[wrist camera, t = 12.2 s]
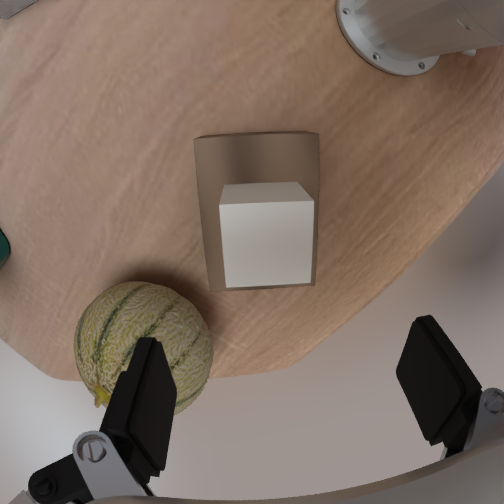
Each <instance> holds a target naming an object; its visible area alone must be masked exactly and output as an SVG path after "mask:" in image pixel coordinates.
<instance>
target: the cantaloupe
mask: <svg viewBox="0 0 504 504" xmlns="http://www.w3.org/2000/svg"><path fill="white" fill-rule="evenodd" d="M140 337H155V338H156V339H157V341H161V343H162V345H163V349H164V352H165V355H166V358H167V361H168V364H169V367H170V370H171V373H172V376H173V379H174V382H175V385H176V388H177V399H176V405H175V411H174V415H176V414H178V413H180V412H182V411H183V410H184V409H186V408H187V407H188V406H189V405H190V404H192V403H193V402H194V400H196V398H197V397H198V396H199V395H200V393H201V392H202V390H203V388H204V385H205V384H206V382H207V379H208V377H209V373H210V368H211V365H212V362H213V341H212V337H211V333H210V330H209V328H208V326H207V325H206V323H205V322H204V320H203V318H202V316H201V314H200V313H199V312H198V310H197V309H196V307H195V306H194V305H193V304H192V303H191V302H189V300H187V299H185V298H184V297H182V296H180V295H179V294H178V293H177V292H176V291H174V290H172V289H170V288H167V287H165V286H162V285H156V284H152V283H148V282H123V283H120V284H117V285H115V286H112V287H110V288H109V289H107V290H105V291H103V293H102V294H101V295H99V296H97V297H96V299H95V300H94V301H93V302H92V303H91V304H90V305H89V306H87V308H86V309H85V310H84V312H83V314H82V316H81V318H80V319H79V321H78V325H77V327H76V331H75V337H74V353H75V359H76V364H77V368H78V371H79V374H80V376H81V379H82V381H83V382H84V384H85V385H86V387H87V388H88V390H89V391H90V393H91V394H92V395H93V396H94V397H95V406H96V407H97V408H99V406H100V404H102V405H103V406H105V407H106V408H107V406H108V404H109V401H110V398H111V395H112V392H113V390H114V387H115V384H116V382H117V379H118V376H119V374H120V373H121V372H122V371H126V370H127V368H128V365H129V362H130V360H131V357H132V354H133V352H134V349H135V346H136V344H137V341H138V339H139V338H140Z"/></svg>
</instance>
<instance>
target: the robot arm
mask: <svg viewBox="0 0 504 504" xmlns="http://www.w3.org/2000/svg"><path fill="white" fill-rule="evenodd" d="M343 12H345V13H346V14H344V13H343ZM336 13H337V18H338V22H339V26H340V28H341V30H342V32H343V34H344V36H345V38H346V39H347V41H348V42H349V44H350V45H351V46H352V47H353V48H354V50H355V51H356V52H357V53H358V54H359V55H360V56H361V57H363V58H364V59H365V60H366V61H367V62H369V63H370V64H372V65H373V66H375V67H376V68H378V69H380V70H383V71H385V72H387V73H391V74H394V75H400V76H411V75H417V74H421V73H424V72H426V71H428V70H430V69H431V68H432V67H433V66H434V65H435V64H436V62H437V61H438V59H439V57H440V55H443V54H448V53H454V52H460V53H462V54H465V55H467V56H470V57H473V56H474V55H475V54H476V49H480V48H487V47H496V46H504V0H337V4H336ZM373 56H374V57H375V59H374V58H373ZM396 375H397V378H398V380H399V382H400V385H401V387H402V389H403V391H404V393H405V395H406V397H407V399H408V402H409V404H410V406H411V408H412V411H413V413H414V415H415V417H416V420H417V422H418V424H419V427H420V429H421V431H422V433H423V436H424V438H425V439H426V440H427V441H429V443H430V445H431V446H433V445H435V444H438V443H441V442H442V441H443V443H444V450H443V452H442V455H441V458H440V461H438V462H435V463H433V464H430V465H428V466H425V467H422V468H419V469H416V470H413V471H410V472H407V473H404V474H401V475H398V476H395V477H391V478H388V479H384V480H381V481H377V482H374V483H369V484H365V485H361V486H357V487H352V488H348V489H343V490H338V491H333V492H326V493H320V494H314V495H306V496H299V497H289V498H280V499H265V500H236V501H235V500H230V501H229V500H228V501H227V500H195V499H194V500H193V499H180V498H179V499H178V498H168V497H157V496H156V495H155V494H154V492H153V491H152V490H151V488H150V487H149V485H148V483H149V480H150V476H155V477H159V475H160V471H163V470H164V469H165V465H166V459H167V452H168V445H169V440H170V433H171V428H172V422H173V416H174V411H175V405H176V399H177V388H176V385H175V382H174V379H173V376H172V373H171V370H170V367H169V364H168V361H167V358H166V355H165V352H164V349H163V345H162V343H161V341H157V339H156V338H155V337H140V338H139V339H138V341H137V344H136V346H135V349H134V352H133V354H132V357H131V360H130V362H129V365H128V368H127V370H126V371H122V372H121V373H120V374H119V376H118V379H117V382H116V384H115V387H114V390H113V392H112V395H111V398H110V401H109V404H108V406H107V410H106V412H105V415H104V418H103V421H102V424H101V427H100V430H99V431H88V432H85V433H83V434H81V435H80V436H79V437H78V438H77V439H76V440H75V442H74V444H73V450H72V451H73V453H72V454H70V455H68V456H66V457H64V458H62V459H60V460H59V461H57V462H54V463H52V464H50V465H48V466H46V467H44V468H42V469H40V470H38V471H36V472H35V473H33V475H32V476H31V477H30V479H29V482H28V490H27V491H26V492H25V491H24V490H23V491H22V492H21V493H20V494H18V495H17V496H16V497H15V498H14V499H13V500H12V501H11V502H10V503H9V504H504V392H503V391H502V390H500V389H497V388H488V389H486V390H485V391H484V392H482V390H481V388H482V386H481V385H480V383H479V382H478V380H477V379H476V377H475V375H474V374H473V373H472V371H471V370H470V368H469V366H468V365H467V364H466V362H465V360H464V359H463V358H462V356H461V355H460V353H459V352H458V350H457V349H456V348H455V346H454V345H453V343H452V342H451V341H450V339H449V338H448V336H447V335H446V334H445V333H444V331H443V330H442V328H441V327H440V326H439V324H438V323H437V322H436V320H435V319H434V318H433V316H431V315H426V316H421V317H417V318H416V320H415V321H414V322H413V323H412V325H411V328H410V331H409V335H408V338H407V341H406V344H405V346H404V349H403V352H402V355H401V358H400V360H399V363H398V366H397V369H396Z"/></svg>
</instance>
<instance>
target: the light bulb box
mask: <svg viewBox="0 0 504 504" xmlns="http://www.w3.org/2000/svg"><path fill="white" fill-rule="evenodd" d="M36 1H38V0H0V18H3V19H8V18H10V17H11V16H13V15H14V14H16V13H17V12H19V11H21V10H22V9H24V8H26V7H27V6H29V5H31V4H32V3H34V2H36Z"/></svg>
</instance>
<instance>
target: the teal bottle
mask: <svg viewBox="0 0 504 504" xmlns="http://www.w3.org/2000/svg"><path fill="white" fill-rule="evenodd" d="M8 256H9V244H8V242H7V240H6V238H5V237H4V235H3V234H2V232H1V231H0V269H1V267H2V266H3V264H4V263H5V261H6V259H7V258H8Z"/></svg>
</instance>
